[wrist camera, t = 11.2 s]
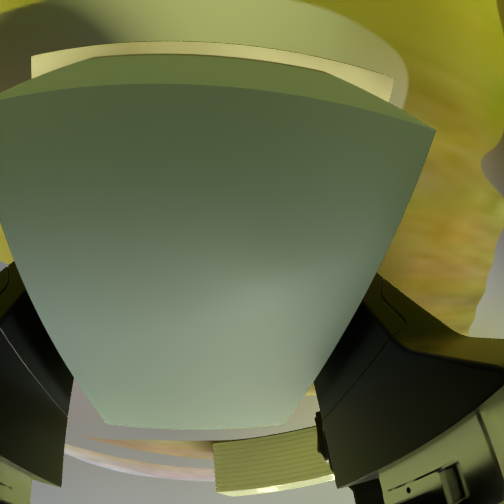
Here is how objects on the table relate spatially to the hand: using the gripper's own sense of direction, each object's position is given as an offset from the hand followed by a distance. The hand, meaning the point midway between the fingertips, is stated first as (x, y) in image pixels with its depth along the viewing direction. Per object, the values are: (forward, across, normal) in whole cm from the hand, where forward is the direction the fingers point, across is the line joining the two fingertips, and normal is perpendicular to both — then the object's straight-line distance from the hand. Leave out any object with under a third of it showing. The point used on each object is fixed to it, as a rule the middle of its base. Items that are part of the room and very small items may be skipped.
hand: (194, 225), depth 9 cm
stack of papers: (+11, -20, +57) cm, 61 cm away
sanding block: (0, 0, 0) cm, 0 cm away
